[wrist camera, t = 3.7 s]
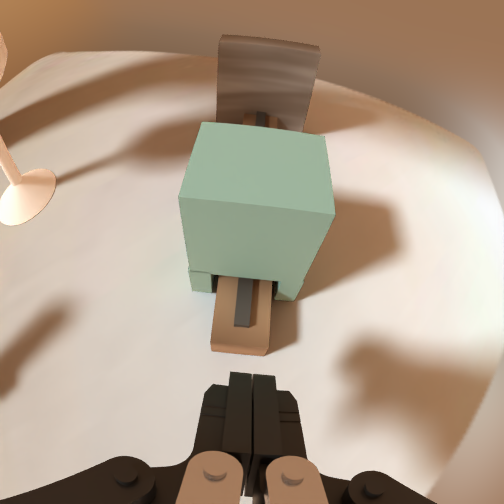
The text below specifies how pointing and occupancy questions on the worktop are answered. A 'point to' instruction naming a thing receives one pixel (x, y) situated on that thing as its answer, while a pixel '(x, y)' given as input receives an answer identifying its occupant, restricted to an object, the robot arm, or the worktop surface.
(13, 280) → the worktop surface
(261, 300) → the rail
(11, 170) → the champagne flute
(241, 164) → the block
